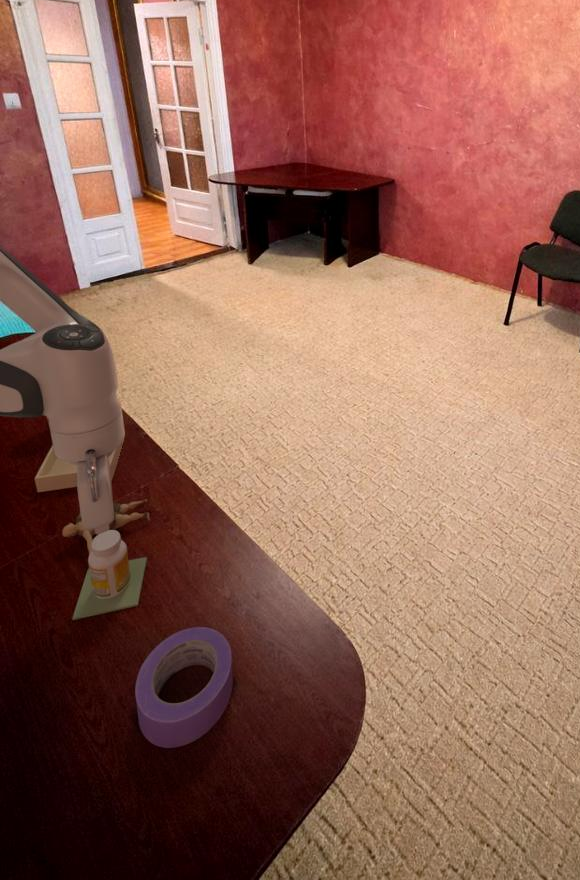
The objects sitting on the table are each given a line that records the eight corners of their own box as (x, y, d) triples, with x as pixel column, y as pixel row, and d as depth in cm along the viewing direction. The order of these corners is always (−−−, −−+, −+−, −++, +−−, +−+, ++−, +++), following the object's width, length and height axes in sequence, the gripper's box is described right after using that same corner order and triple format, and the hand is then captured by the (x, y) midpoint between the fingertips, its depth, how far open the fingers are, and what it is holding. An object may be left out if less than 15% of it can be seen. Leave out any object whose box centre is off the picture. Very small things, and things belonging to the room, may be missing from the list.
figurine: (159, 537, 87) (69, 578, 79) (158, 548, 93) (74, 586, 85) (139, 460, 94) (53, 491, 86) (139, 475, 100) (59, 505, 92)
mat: (72, 620, 74) (72, 618, 74) (88, 570, 82) (88, 568, 82) (138, 605, 77) (137, 603, 77) (147, 558, 85) (146, 556, 85)
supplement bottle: (94, 606, 76) (86, 560, 73) (92, 580, 80) (84, 535, 77) (133, 589, 79) (126, 544, 76) (128, 565, 83) (122, 521, 80)
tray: (37, 492, 97) (34, 478, 96) (58, 450, 109) (56, 437, 108) (111, 481, 101) (109, 467, 100) (124, 442, 113) (122, 429, 112)
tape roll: (218, 634, 73) (216, 610, 72) (245, 708, 65) (244, 682, 63) (131, 683, 66) (127, 657, 65) (148, 772, 58) (144, 746, 56)
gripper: (119, 469, 64) (130, 549, 68) (110, 393, 80) (119, 462, 84) (61, 485, 60) (76, 568, 65) (64, 403, 76) (76, 473, 81)
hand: (101, 507), depth 75 cm, fingers open, 8 cm apart
